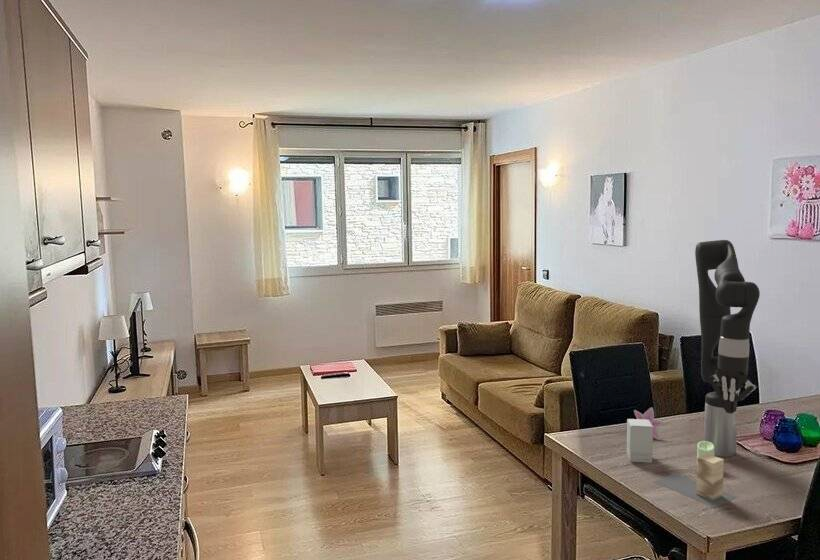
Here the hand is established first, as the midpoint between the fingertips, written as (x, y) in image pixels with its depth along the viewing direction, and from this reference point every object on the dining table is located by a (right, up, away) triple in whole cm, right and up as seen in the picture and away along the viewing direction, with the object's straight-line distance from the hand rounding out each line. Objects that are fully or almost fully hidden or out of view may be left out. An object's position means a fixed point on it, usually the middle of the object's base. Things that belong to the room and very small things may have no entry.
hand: (729, 412), depth 170 cm
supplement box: (-12, -24, +36) cm, 44 cm away
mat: (-5, -26, +11) cm, 29 cm away
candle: (+6, -24, +27) cm, 37 cm away
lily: (-2, -21, +56) cm, 60 cm away
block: (-2, -26, +7) cm, 27 cm away
